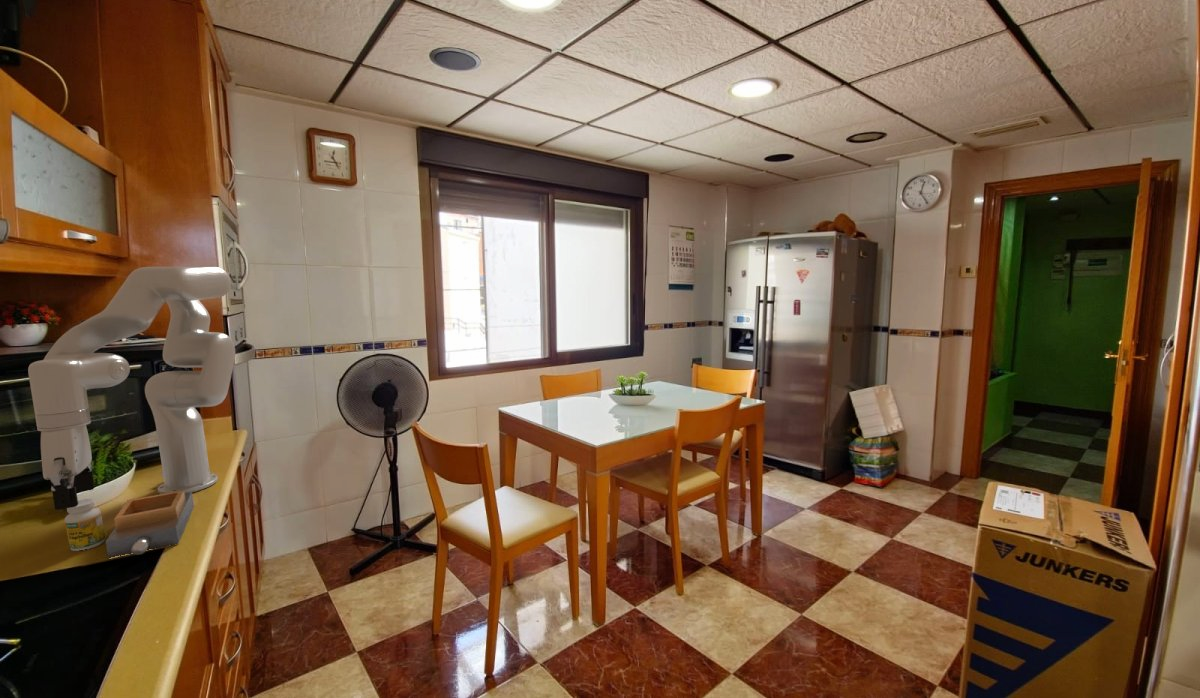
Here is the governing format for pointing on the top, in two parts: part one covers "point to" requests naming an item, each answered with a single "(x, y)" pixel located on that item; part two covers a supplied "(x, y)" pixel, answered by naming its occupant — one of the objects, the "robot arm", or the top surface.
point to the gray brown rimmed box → (150, 523)
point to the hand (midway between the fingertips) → (75, 498)
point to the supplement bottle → (84, 526)
